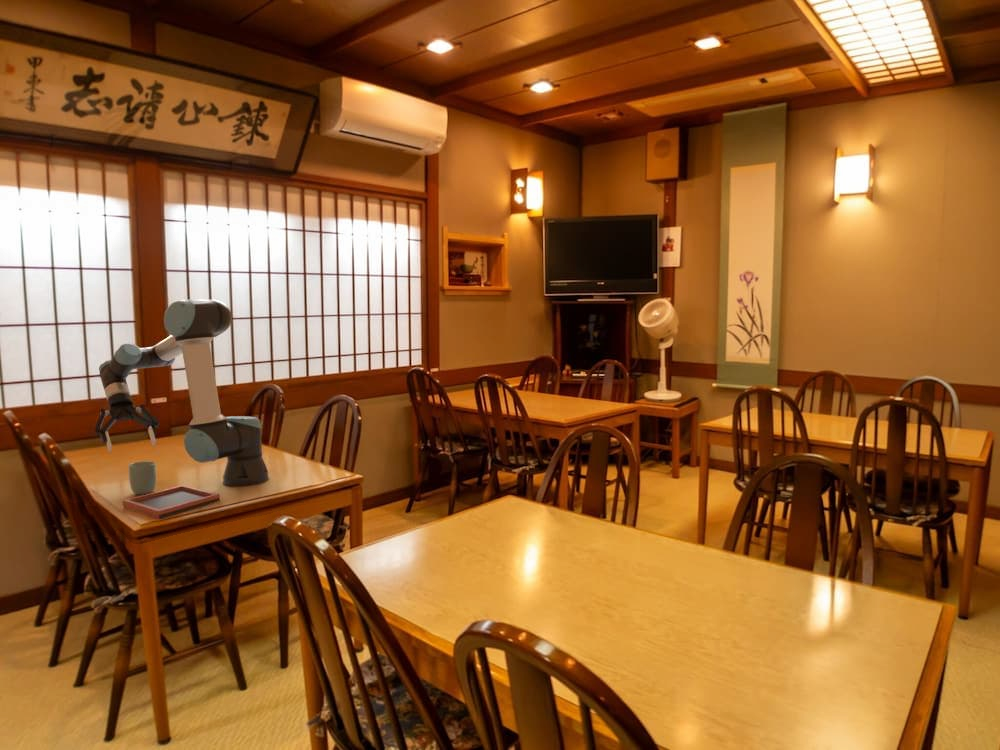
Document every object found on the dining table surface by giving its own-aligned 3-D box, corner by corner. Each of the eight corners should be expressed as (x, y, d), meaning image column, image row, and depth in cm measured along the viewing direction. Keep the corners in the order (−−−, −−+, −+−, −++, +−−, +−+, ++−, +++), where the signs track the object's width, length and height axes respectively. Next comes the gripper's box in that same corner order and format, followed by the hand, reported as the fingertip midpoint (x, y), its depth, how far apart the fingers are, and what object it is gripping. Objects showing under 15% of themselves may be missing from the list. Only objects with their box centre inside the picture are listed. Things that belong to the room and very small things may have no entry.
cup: (162, 490, 226) (159, 461, 225) (147, 496, 218) (145, 467, 217) (140, 489, 227) (138, 461, 226) (125, 496, 219) (123, 466, 218)
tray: (219, 501, 213) (219, 494, 213) (158, 519, 196) (158, 511, 196) (183, 491, 224) (183, 484, 224) (123, 507, 207) (122, 500, 207)
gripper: (155, 400, 248) (169, 446, 239) (77, 408, 232) (90, 458, 223) (158, 388, 244) (173, 434, 235) (79, 395, 227) (92, 445, 218)
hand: (132, 446), depth 229 cm, fingers open, 13 cm apart
